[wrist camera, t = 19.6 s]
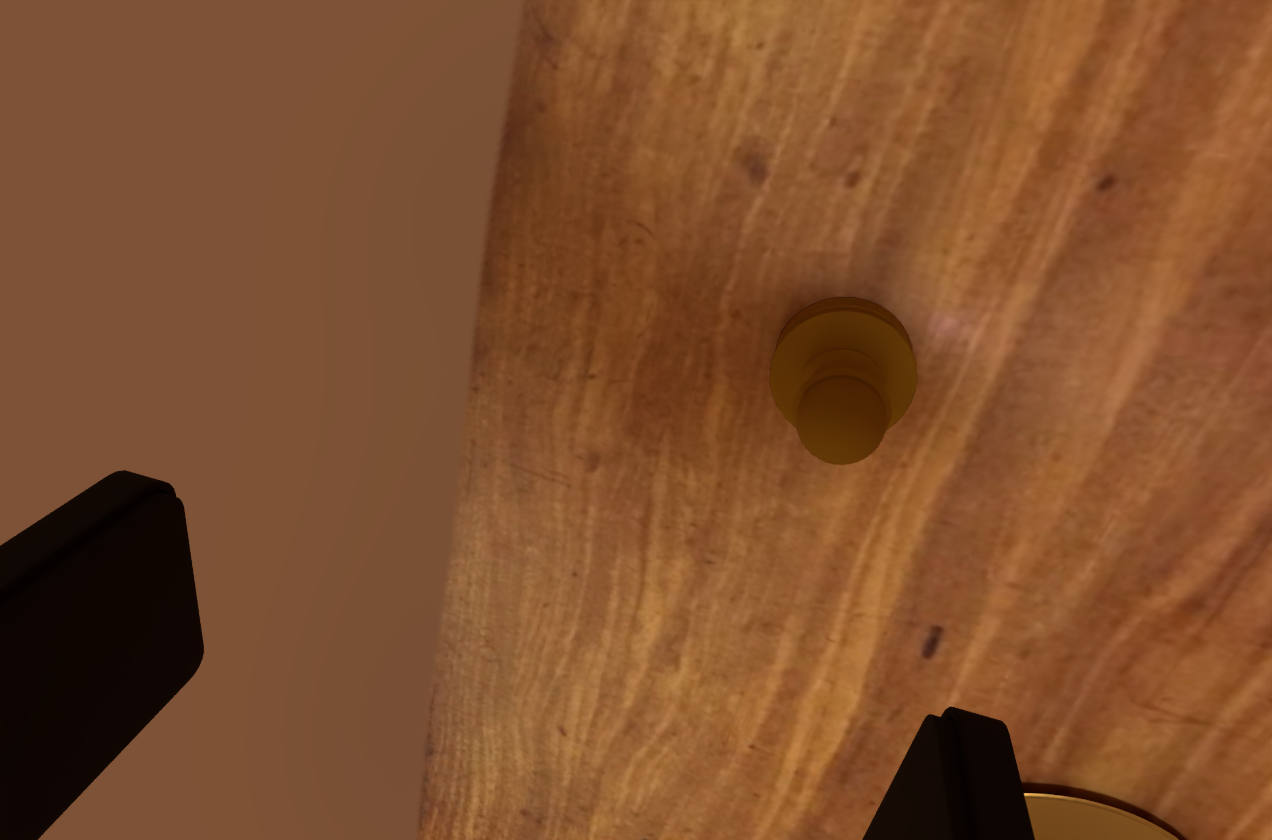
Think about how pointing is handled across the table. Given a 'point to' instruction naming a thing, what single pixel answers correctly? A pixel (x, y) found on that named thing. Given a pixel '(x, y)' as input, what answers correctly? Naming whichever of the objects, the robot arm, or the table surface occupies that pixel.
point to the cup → (1086, 820)
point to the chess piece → (843, 377)
